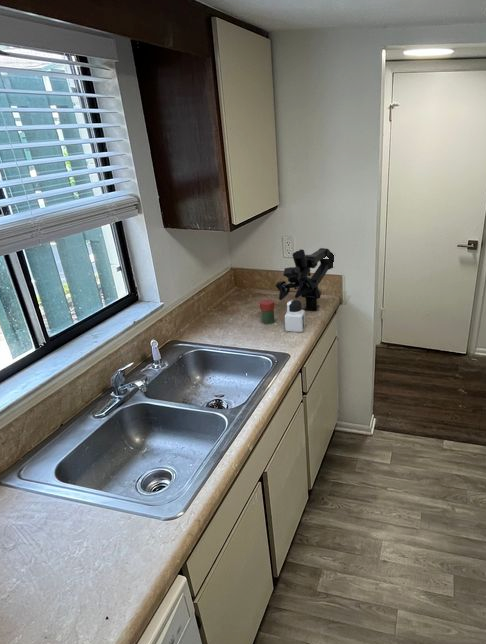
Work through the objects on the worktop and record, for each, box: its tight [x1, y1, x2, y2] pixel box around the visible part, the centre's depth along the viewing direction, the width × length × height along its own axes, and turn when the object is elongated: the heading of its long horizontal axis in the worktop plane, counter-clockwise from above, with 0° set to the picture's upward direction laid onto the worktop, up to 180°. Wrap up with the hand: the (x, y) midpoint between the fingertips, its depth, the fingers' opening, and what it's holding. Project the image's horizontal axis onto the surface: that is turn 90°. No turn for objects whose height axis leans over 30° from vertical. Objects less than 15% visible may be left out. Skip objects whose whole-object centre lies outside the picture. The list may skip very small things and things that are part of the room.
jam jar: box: [260, 308, 275, 325], centre depth 203 cm, size 6×6×10 cm
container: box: [284, 299, 306, 333], centre depth 195 cm, size 8×8×13 cm
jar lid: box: [259, 298, 276, 311], centre depth 202 cm, size 7×7×3 cm
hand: (287, 298), depth 193 cm, fingers open, 9 cm apart
